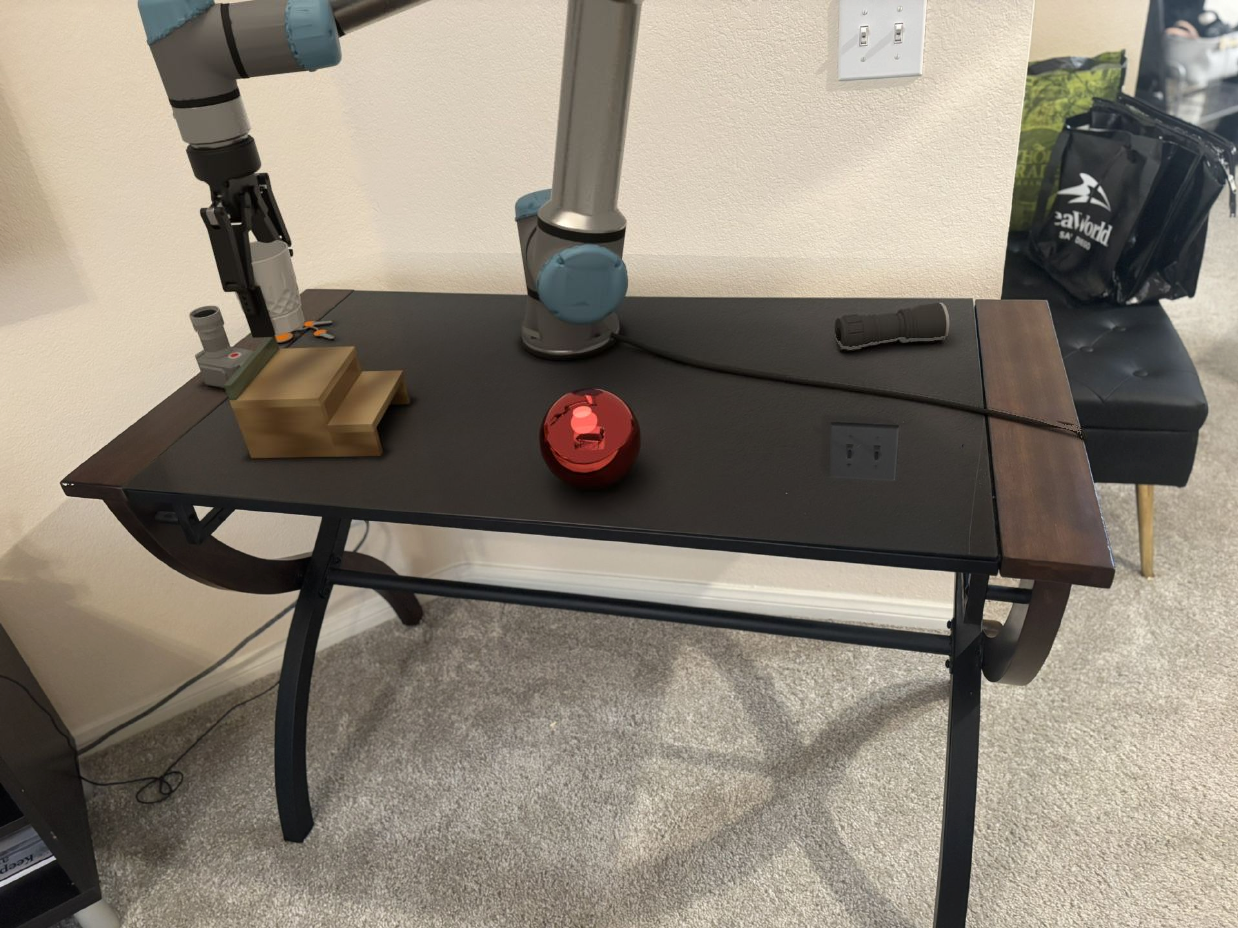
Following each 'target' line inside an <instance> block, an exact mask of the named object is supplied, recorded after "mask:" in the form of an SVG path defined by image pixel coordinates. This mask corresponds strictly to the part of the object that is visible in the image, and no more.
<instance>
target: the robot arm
mask: <svg viewBox="0 0 1238 928" xmlns="http://www.w3.org/2000/svg"><path fill="white" fill-rule="evenodd" d="M431 1H432V0H245V1H237V2H232V3H230V2H226V3H225V2H224V3H223V2H217V3H216V1H215V0H137V9H138V13H139V16H140V19H141V22H142V26H143V30H144V32H145V37H146V44H147V46H148V47H149V50H150V53H151V56H152V57H153V60H154V63H155V65H156V68H157V71H158V74H159V77H160V80H161V83H162V85H163V87H164V91H165V93H166V96H167V99H168V103H169V105H170V107H171V111H172V117H173V119H174V120H175V122H176V124H177V128H178V131H179V133H180V137H181V140H182V142H184V143H186V144H188V145H187V146H186V148H185V152H186V156H187V158H188V161H189V164H190V167H191V170H192V174H193V176H194V177H195V179H196V180H198V181H200V182H203V183H204V184H206V185H207V186H208V187H209V192H210V193H209V194H210V201H211V204H210V205H209V207H201V208H200V209H199V215H200V218H201V220H202V221H203V224H204V226H205V228H206V231H207V233H208V238H209V243H210V246H211V250H212V253H213V258H214V261H215V265H216V268H217V269H216V270H217V272H218V277H219V280H220V284H221V289H222V290H223V292H224V293H235V292H236V293H237V294H238V297H239V300H240V303H241V305H242V308H243V311H242V312H243V314H244V317H245V319H246V322H247V325H248V328H249V331H250V334H251V337H252V339H259V338H261V339H263V338H266V337H274V336H275V335H276V334H275V331H274V328H273V324H272V321H271V318H270V315H269V312H268V309H267V306H266V303H265V300H264V297H263V294H262V291H261V288H260V286H255V281H254V273H253V266H252V257H251V249H250V242H251V241H250V234H249V233H250V232H251V233H252V234H253V236H254V239H256V240H255V241H258V242H262V243H271V242H273V241H276V240H279V241H283V242H285V243H287V245H288V249H289V253H290V256H291V258H293V257H294V249H293V248H291V247H292V244H293V243H292V239H291V237H290V234H289V231H288V229H287V226H286V223H285V220H284V218H283V216H282V213H281V211H280V210H281V209H280V208H279V205H278V203H277V199H276V197H275V195H274V192H273V188H272V183H271V178H270V174H269V173H268V172H258V171H260V169H261V167H262V160H261V157H260V154H259V150H258V147H257V143H256V140H255V138H254V137H253V136H252V135H251V134H249V133H250V132H251V130H252V126H251V124H250V120H249V116H248V113H247V111H246V107H245V104H244V101H243V98H242V95H241V91H240V88H239V85H238V81H237V80H245V79H247V80H249V79H250V78H251V79H252V78H258V77H267V76H275V75H276V76H277V75H284V74H293V73H302V72H303V73H304V72H309V73H314V72H316V71H318V70H321V69H322V70H323V69H329V68H332V67H336V66H338V65H340V64H341V61H342V58H343V55H342V54H343V53H342V48H341V42H340V38H342V37H345V36H346V35H348V34H351V33H355V32H356V31H358V30H361V29H363V28H366V27H369V26H371V25H374V24H376V23H378V22H381V21H383V20H386V19H388V18H391V17H393V16H396V15H399V14H402V13H403V12H406V11H409V10H410V9H411V10H412V9H413V8H415V7H419V6H421V5H423V4H426V3H428V2H431ZM644 1H645V0H567V4H566V15H565V16H566V17H565V25H564V27H565V28H564V40H563V51H562V63H561V73H560V74H561V75H560V87H559V98H558V99H559V100H558V110H557V122H556V133H555V134H556V135H555V145H554V157H553V158H554V159H553V167H552V168H553V170H552V179H551V180H552V181H551V188H546V189H540V190H536V191H533V192H530V193H527V194H524V195H522V196H521V197H519V198H518V199H517V200H516V202H515V204H514V214H515V217H514V222H516V226H517V227H516V228H517V233H518V239H519V246H520V253H521V260H522V267H523V274H524V280H525V287H526V294H527V299H526V305H525V310H524V314H523V320H522V327H521V339H522V345H523V347H524V349H525V350H526V351H527V352H528V353H529V354H531V355H533V356H535V357H538V358H540V359H546V360H551V361H552V360H554V361H571V360H579V359H585V358H589V357H593V356H596V355H598V354H600V353H602V352H605V351H607V350H608V349H610V348H612V346H614V345H615V344H616V343H617V342H622V343H625V344H627V345H630V346H633V347H635V348H638V349H641V350H643V351H646V352H648V353H650V354H654V355H657V356H660V357H662V358H665V359H669V360H672V361H675V362H680V363H683V364H687V365H690V366H695V367H699V368H704V369H708V370H714V371H719V372H726V373H731V374H737V375H738V374H739V375H743V376H748V377H749V376H750V377H757V378H762V379H768V380H776V381H777V380H778V381H781V382H782V381H783V382H789V383H790V382H791V383H796V384H803V385H805V384H806V385H809V386H810V385H812V386H818V387H827V388H833V389H839V390H846V391H847V390H848V391H853V392H859V393H868V394H874V395H881V396H888V397H893V398H899V399H900V398H901V399H905V400H906V399H907V400H911V401H919V402H924V403H929V404H934V405H940V406H945V407H951V408H955V409H959V410H960V409H961V410H965V411H971V412H974V413H979V414H985V415H988V416H993V417H998V418H1002V419H1006V420H1011V421H1016V422H1019V423H1024V424H1028V425H1032V426H1036V427H1041V428H1050V429H1051V428H1052V429H1062V430H1066V431H1070V432H1072V433H1073V434H1076V435H1077V436H1078V437H1079V438H1080V439H1081V436H1082V439H1081V440H1082V441H1083V442H1086V443H1087V442H1088V443H1090V442H1093V440H1092V438H1091V436H1090V435H1089V434H1088V433H1087V432H1086V431H1085V430H1084V429H1083V428H1082V427H1080V429H1081V430H1080V431H1081V434H1080V432H1078V433H1077V431H1073V430H1069V429H1066V428H1061V427H1058V426H1054V425H1050V424H1047V423H1044V422H1041V421H1037V420H1033V419H1029V418H1025V417H1020V416H1016V415H1012V414H1007V413H1003V412H998V411H994V410H989V409H984V408H980V407H975V406H970V405H965V404H960V403H955V402H950V401H945V400H939V399H934V398H928V397H923V396H917V395H911V394H905V393H899V392H893V391H886V390H879V389H873V388H866V387H859V386H852V385H845V384H838V383H830V382H823V381H815V380H808V379H801V378H802V377H804V376H800V377H801V378H794V377H790V376H792V375H791V374H784V373H776V372H768V371H763V370H755V369H749V368H743V367H736V366H730V365H724V364H719V363H713V362H707V361H703V360H699V359H695V358H690V357H686V356H683V355H679V354H676V353H672V352H670V351H666V350H663V349H660V348H657V347H653V346H651V345H648V344H645V343H644V342H641V341H638V340H635V339H633V338H630V337H627V336H625V335H623V334H621V329H620V321H619V317H618V315H617V313H616V311H617V310H618V309H619V308H620V306H621V305H622V304H623V302H624V300H625V298H626V296H627V292H628V288H629V275H628V270H627V265H626V264H625V263H626V262H625V261H624V260H623V256H624V247H625V238H626V231H627V225H628V221H627V218H626V217H625V215H624V214H623V213H622V212H621V210H620V209H619V206H618V204H619V203H618V202H619V201H618V200H619V195H620V188H621V187H620V186H621V179H622V170H623V163H624V162H623V161H624V154H625V146H626V136H627V129H628V122H629V113H630V107H631V105H630V104H631V96H632V88H633V82H634V81H633V79H634V72H635V65H636V64H635V63H636V57H637V56H636V55H637V49H638V42H639V41H638V40H639V32H640V24H641V18H642V17H641V16H642V10H643V9H642V8H643V3H644ZM242 308H241V309H242ZM787 376H789V377H787ZM797 377H799V376H798V375H797ZM804 378H806V377H804ZM810 378H811V377H810ZM811 379H813V378H811ZM825 380H826V379H825ZM826 381H828V379H827V380H826ZM834 382H836V381H834ZM840 382H841V381H840ZM841 383H843V382H841ZM847 383H848V382H847ZM848 384H850V383H848ZM854 384H855V383H854ZM855 385H857V384H855ZM861 385H862V384H861ZM862 386H864V385H862ZM868 386H869V385H868ZM869 387H871V386H869ZM875 387H876V388H878V387H877V386H875ZM882 388H883V389H885V388H884V387H882ZM895 390H896V389H895ZM896 391H898V390H896ZM901 391H902V392H904V391H903V390H901ZM907 392H908V393H910V392H909V391H907ZM913 393H914V392H913ZM914 394H916V393H914ZM919 394H920V395H922V394H921V393H919ZM936 397H937V398H939V397H938V396H936ZM952 400H953V399H952ZM953 401H955V400H953ZM957 401H958V400H957ZM958 402H960V401H958ZM962 402H963V403H965V402H964V401H962ZM967 403H968V404H970V403H969V402H967ZM972 404H973V405H975V404H974V403H972ZM991 408H992V407H991ZM992 409H994V408H992ZM1000 410H1001V409H1000ZM1001 411H1003V410H1001ZM1009 412H1010V413H1012V412H1011V411H1009ZM1022 415H1023V414H1022ZM1023 416H1025V415H1023ZM1056 421H1057V422H1059V423H1062V424H1064V425H1065V424H1066V425H1071V426H1072V425H1075V424H1074V423H1071V422H1067V421H1061V420H1056ZM1078 427H1079V426H1078ZM1078 427H1077V428H1078ZM1078 431H1079V430H1078Z"/></svg>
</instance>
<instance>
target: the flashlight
mask: <svg viewBox="0 0 1238 928" xmlns="http://www.w3.org/2000/svg"><path fill="white" fill-rule="evenodd" d="M946 306H947V305H945V303H943V302H936V303H927V304H920V305H917V306H914V307H912V308H910V307H907V308H900V309H899V310H897V312H896V313H894V312H890V313H889V312H888V313H881V314H874V313H873V314H868V315H866V314H861V315H859V314H857V313H851V314H846V315H844V314H843V315H841V317H837V318H836V319H835V323H834V335H835V334H836V338H837V340H838V341H840V342H841V344H842V345H843V346H849V347H852V346H859V345H863V344H868V343H870V342H876V341H877V342H879V341H883V340H890V339H895V338H898V337H905V338H906V339H909V338H934V337H941V336H948V337H949V333H950V316H949V312H948V308H947V307H946ZM946 340H947V338H946V339H944V338H943V339H942V340H934V341H917V342H916V343H919V342H920V343H919V344H922V343H921V342H924V343H923V344H927V343H933V342H935V343H936V342H943V341H946ZM835 343H836V347H837V348H838V350H839V351H845V352H846V351H847V352H855V351H860V350H861V349H863V347H862V348H861V349H855V350H854V349H853V350H847V349H841V347H840V345H839V344H838V342H837V341H836V340H835ZM885 344H886V343H884V344H883V345H885ZM869 347H870V345H869V346H867V347H866V348H869Z"/></svg>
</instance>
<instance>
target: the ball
mask: <svg viewBox="0 0 1238 928" xmlns="http://www.w3.org/2000/svg"><path fill="white" fill-rule="evenodd" d="M538 433H539V434H538V441H539V450H540V454H541V457H542V459H543V462H544V463H545V465H546V467H547V468H548V469H549V471H550V472H551V474H553V475H554V476H555V478H557V479H558V480H559V481H561V482H562V483H564V484H566V485H568V486H571V487H572V488H576V489H581V490H589V491H591V490H600V489H601V490H602V489H604V488H608V487H610V486H612V485H614V484H616V483H617V482H619V481H621V480H622V479H623V478H624V477H626V476H627V474H628V473H629V472H630V471H631V469H632V468H634V465H635V463H636V461H637V458H638V457H639V454H640V451H641V445H642V438H641V437H642V435H641V427H640V422H639V421H638V418H637V416H636V415H635V413H634V410H633V409H632V407H630V405H629V404H628V403H627V402H626V401H625V400H624V399H622V398H621V397H620V396H618V395H617V394H615V393H613V392H611V391H609V390H606V389H602V388H598V387H582V388H578V389H574V390H571V391H568V392H567V393H564V394H563V395H561V396H560V397H559V398H557V399H556V400H555V401H554V402H553V403H552V404H551V405H550V407H549V408H548V409H547V410H546V412H545V414H544V416H543V419H542V421H541V424H540V427H539V432H538Z"/></svg>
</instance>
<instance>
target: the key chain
mask: <svg viewBox="0 0 1238 928" xmlns="http://www.w3.org/2000/svg"><path fill="white" fill-rule="evenodd" d="M332 323H333V321H332V320H322V321H315V320H309V321H306V322H304V323H303V324H302V325H301V326H300V327H299V328H297V329H295V330H293V331H292V332H298V331H305V330H307V329H315V330H316V331H314V333H313V335H314V336H315V337H323V338H324V339H325V338H326V339H328V340H332V339H334V338H335V335H331V334H329V333H328V330H326V329H319V328H318V327H316V326H317V325H318V326H319V325H326V324H327V325H329V324H332ZM293 335H294V334H293V333H291V332H289V333H286V334H282V335H278V336H275V337H276V340H277V343H278V344H279V343H280V344H281V343H286V342H289V341H290V340H292V339H293V337H294V336H293Z"/></svg>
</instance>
